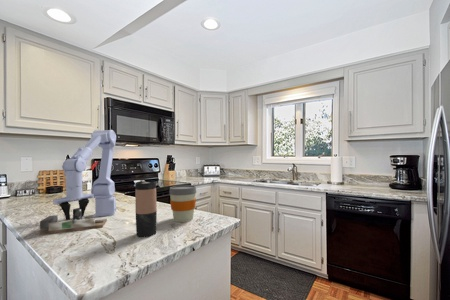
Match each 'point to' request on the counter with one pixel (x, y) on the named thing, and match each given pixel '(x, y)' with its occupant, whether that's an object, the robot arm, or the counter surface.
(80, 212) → the gauge slider
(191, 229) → the counter surface
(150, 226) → the travel mug
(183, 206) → the reusable coffee cup
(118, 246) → the counter surface
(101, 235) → the counter surface
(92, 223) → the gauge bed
